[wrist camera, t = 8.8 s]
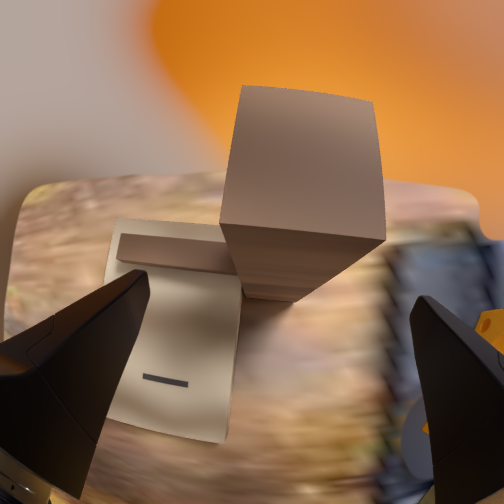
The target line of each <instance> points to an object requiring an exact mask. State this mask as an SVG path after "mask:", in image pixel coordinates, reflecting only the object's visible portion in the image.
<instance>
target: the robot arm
mask: <svg viewBox="0 0 504 504" xmlns="http://www.w3.org/2000/svg"><path fill="white" fill-rule="evenodd" d="M149 299H150V285H149V279H148V274H147V272H146V271H145V270H140V269H133V270H132V271H130V272H128V273H126V274H124V275H122V276H121V277H119V278H117V279H115V280H113V281H112V282H110V283H108V284H106V285H104V286H103V287H101V288H99V289H97V290H95V291H94V292H92V293H90V294H88V295H87V296H85V297H83V298H81V299H80V300H78V301H76V302H74V303H73V304H71V305H69V306H67V307H66V308H64V309H62V310H60V311H59V312H57V313H55V315H52V316H50V317H49V318H47V319H45V320H43V321H42V322H40V323H38V324H36V325H35V326H33V327H31V328H29V329H27V330H25V331H23V332H21V333H19V334H17V335H15V336H13V337H11V338H9V339H7V340H5V341H4V342H2V343H0V504H52V503H51V501H50V499H49V498H50V495H51V492H52V489H53V487H54V488H55V489H57V490H59V491H61V492H63V493H65V494H67V495H69V496H71V497H74V498H76V499H78V500H80V497H81V494H82V491H83V487H84V484H85V480H86V477H87V474H88V471H89V467H90V464H91V461H92V458H93V455H94V452H95V449H96V444H97V442H98V439H99V436H100V433H101V431H102V428H103V425H104V422H105V419H106V416H107V414H108V411H109V408H110V405H111V403H112V400H113V397H114V395H115V392H116V389H117V387H118V384H119V382H120V379H121V377H122V374H123V372H124V369H125V367H126V364H127V362H128V359H129V357H130V354H131V352H132V349H133V347H134V345H135V342H136V340H137V337H138V335H139V331H140V328H141V325H142V321H143V318H144V315H145V311H146V308H147V305H148V302H149ZM409 320H410V327H411V333H412V340H413V348H414V355H415V360H416V365H417V369H418V374H419V379H420V384H421V389H422V394H423V399H424V404H425V410H426V417H427V423H428V430H429V437H430V444H431V453H432V463H433V476H434V491H435V504H504V355H503V354H502V353H501V352H500V351H497V349H496V348H495V347H494V346H492V345H491V344H490V343H489V342H488V341H486V340H485V339H484V338H483V337H482V336H480V335H479V334H478V333H477V332H476V331H474V330H473V329H472V328H471V327H469V326H468V325H467V324H466V323H464V322H463V321H462V320H461V319H459V318H458V317H457V316H455V315H454V314H453V313H452V312H450V311H449V310H448V309H446V308H445V307H444V306H443V305H441V304H440V303H439V302H437V301H436V300H435V299H433V298H432V297H431V296H424V295H421V296H419V297H418V298H417V300H416V302H415V304H414V307H413V309H412V311H411V313H410V318H409Z"/></svg>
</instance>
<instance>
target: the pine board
mask: <svg viewBox="0 0 504 504" xmlns="http://www.w3.org/2000/svg"><path fill="white" fill-rule="evenodd" d="M121 233H127V234H139V235H150V236H161V237H172V238H183V239H194V240H205V241H216V242H226V241H225V238H224V235H223V233H222V230H221V227H220V226H219V225H207V224H195V223H183V222H170V221H156V220H143V219H128V218H116V223H115V227H114V231H113V236H112V241H111V245H110V250H109V256H108V261H107V266H106V272H105V278H104V284H103V286H104V285H106V284H108V283H110V282H112V281H113V280H115V279H117V278H119V277H121V276H122V275H124V274H126V273H128V272H130V271H132V270H133V269H140V270H145V271H146V272H147V274H148V279H149V285H150V299H149V302H148V305H147V308H146V311H145V315H144V318H143V321H142V325H141V328H140V331H139V335H138V337H137V340H136V342H135V345H134V347H133V349H132V352H131V354H130V357H129V359H128V362H127V364H126V367H125V369H124V372H123V374H122V377H121V379H120V382H119V384H118V387H117V389H116V392H115V395H114V397H113V400H112V403H111V405H110V408H109V411H108V414H107V416H106V417H107V418H110V419H113V420H116V421H120V422H123V423H126V424H130V425H134V426H137V427H141V428H145V429H149V430H153V431H157V432H161V433H166V434H170V435H175V436H180V437H185V438H190V439H196V440H202V441H208V442H214V443H221V444H225V441H226V438H227V434H228V428H229V418H230V409H231V399H232V390H233V380H234V371H235V361H236V352H237V342H238V333H239V324H240V314H241V305H242V296H243V288H242V285H241V282H240V279H239V277H238V276H235V275H225V274H216V273H207V272H197V271H188V270H180V269H171V268H162V267H154V266H146V265H138V264H129V263H123V262H121V261H119V260H117V259H116V255H117V250H118V245H119V240H120V235H121Z"/></svg>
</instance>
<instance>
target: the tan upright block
mask: <svg viewBox="0 0 504 504" xmlns="http://www.w3.org/2000/svg"><path fill="white" fill-rule="evenodd" d="M219 224H220V227H221V230H222V233H223V235H224V238H225V241H226V242H216V241H205V240H194V239H183V238H172V237H161V236H150V235H139V234H127V233H121V235H120V240H119V245H118V250H117V255H116V259H117V260H119V261H121V262H123V263H129V264H138V265H146V266H154V267H162V268H171V269H180V270H188V271H197V272H207V273H216V274H225V275H235V276H238V277H239V279H240V282H241V285H242V288H243V290H244V293H245V296H246V298H254V299H264V300H275V301H286V302H297V301H299V300H300V299H302V298H303V297H305V296H306V295H308V294H309V293H311V292H312V291H314V290H315V289H317V288H318V287H320V286H321V285H323V284H324V283H326V282H327V281H329V280H330V279H332V278H333V277H335V276H336V275H338V274H339V273H341V272H342V271H344V270H345V269H346V268H348V267H349V266H351V265H352V264H354V263H355V262H356V261H358V260H359V259H361V258H362V257H364V256H365V255H366V254H368V253H369V252H371V251H372V250H373V249H375V248H376V247H377V246H379V245H380V244H382V243H383V242H384V241H386V219H385V201H384V187H383V176H382V166H381V156H380V148H379V140H378V133H377V126H376V120H375V113H374V107H373V102H370V101H365V100H360V99H355V98H350V97H344V96H339V95H332V94H326V93H319V92H312V91H304V90H296V89H287V88H275V87H262V86H246V85H242V88H241V94H240V99H239V105H238V110H237V115H236V121H235V127H234V132H233V138H232V144H231V150H230V155H229V162H228V168H227V174H226V180H225V187H224V193H223V200H222V206H221V213H220V220H219Z"/></svg>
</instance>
